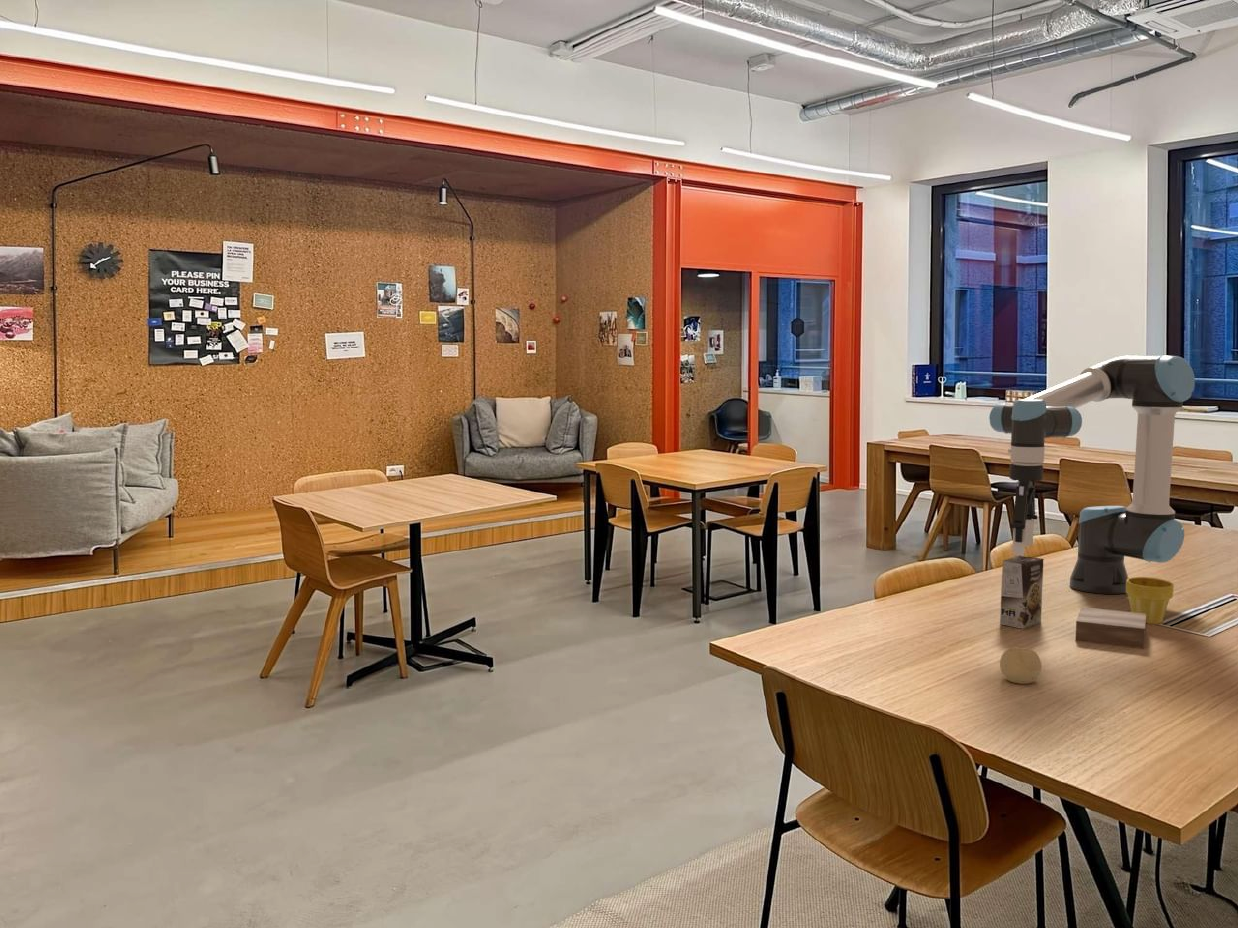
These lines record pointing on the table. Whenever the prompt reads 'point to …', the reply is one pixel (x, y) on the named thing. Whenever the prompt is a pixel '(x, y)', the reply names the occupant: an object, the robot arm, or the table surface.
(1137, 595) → the plant pot
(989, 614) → the table surface
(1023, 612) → the coffee box
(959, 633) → the table surface
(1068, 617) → the table surface
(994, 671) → the table surface
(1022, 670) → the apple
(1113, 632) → the walnut block
